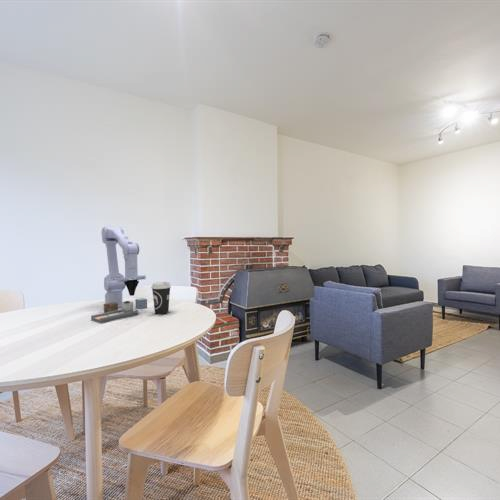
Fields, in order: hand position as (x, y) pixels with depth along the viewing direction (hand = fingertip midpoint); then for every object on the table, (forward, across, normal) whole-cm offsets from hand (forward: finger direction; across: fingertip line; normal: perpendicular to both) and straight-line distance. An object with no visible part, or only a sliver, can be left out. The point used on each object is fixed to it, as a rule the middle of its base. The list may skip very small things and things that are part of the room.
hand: (131, 295), depth 141 cm
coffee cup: (+10, +10, -10) cm, 17 cm away
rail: (+9, -8, +1) cm, 12 cm away
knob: (+8, -2, +1) cm, 8 cm away
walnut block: (+10, -5, +11) cm, 15 cm away
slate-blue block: (+10, +10, +8) cm, 16 cm away
